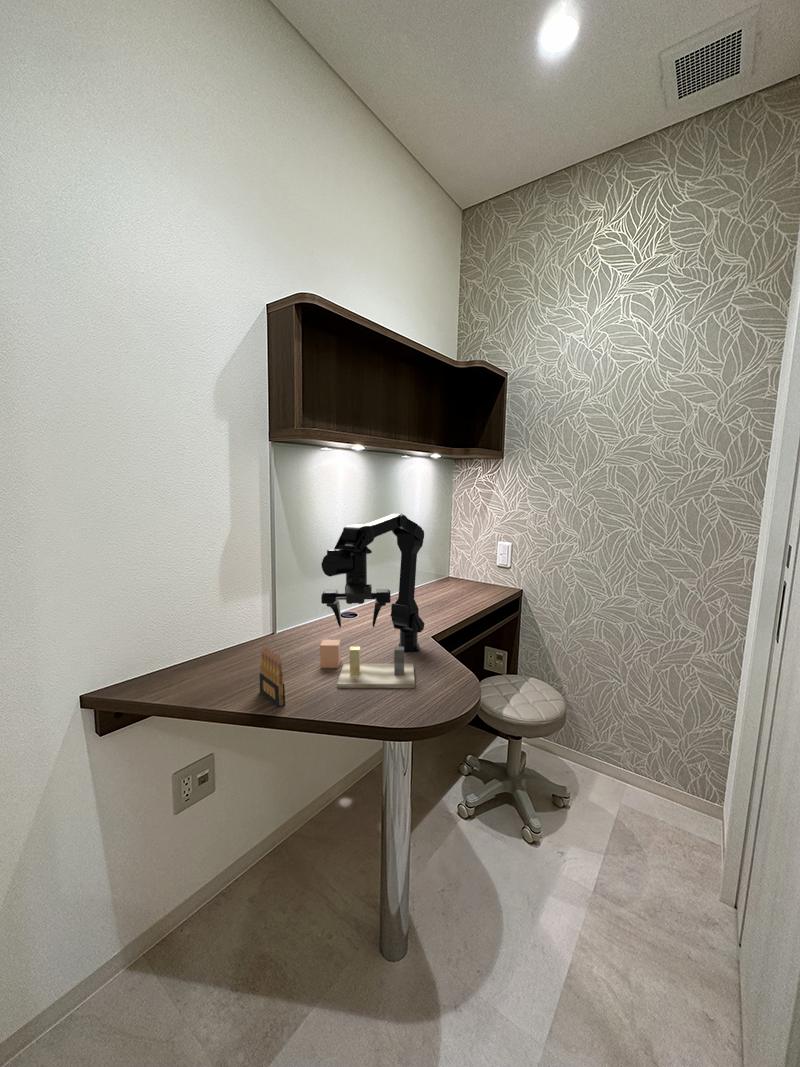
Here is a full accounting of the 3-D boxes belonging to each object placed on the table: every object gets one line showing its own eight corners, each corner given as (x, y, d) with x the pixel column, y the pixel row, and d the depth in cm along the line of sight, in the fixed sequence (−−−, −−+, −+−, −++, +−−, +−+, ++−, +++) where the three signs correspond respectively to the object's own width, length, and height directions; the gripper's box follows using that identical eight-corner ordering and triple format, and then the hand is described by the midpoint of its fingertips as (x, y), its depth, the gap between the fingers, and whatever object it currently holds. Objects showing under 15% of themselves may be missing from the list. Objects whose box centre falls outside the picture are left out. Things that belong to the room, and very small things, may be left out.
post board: (343, 667, 131) (343, 639, 130) (413, 667, 131) (413, 639, 130) (337, 687, 117) (336, 657, 116) (414, 687, 117) (414, 657, 116)
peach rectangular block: (323, 661, 136) (323, 639, 135) (340, 661, 136) (340, 639, 135) (320, 667, 131) (320, 645, 130) (338, 667, 131) (338, 645, 130)
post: (350, 671, 125) (350, 646, 125) (360, 671, 125) (360, 646, 125) (349, 675, 123) (349, 649, 122) (359, 675, 123) (359, 649, 122)
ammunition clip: (259, 692, 115) (258, 645, 114) (266, 690, 116) (265, 644, 115) (278, 707, 107) (276, 657, 105) (285, 705, 108) (284, 655, 107)
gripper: (318, 576, 117) (319, 636, 118) (390, 576, 118) (391, 635, 119) (323, 569, 128) (324, 623, 129) (390, 569, 129) (390, 623, 130)
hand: (356, 626), depth 127 cm, fingers open, 9 cm apart
